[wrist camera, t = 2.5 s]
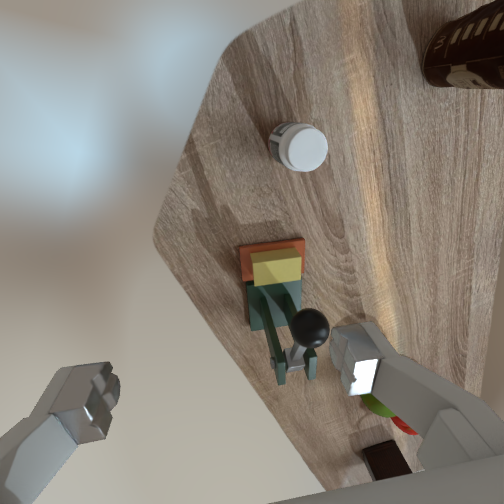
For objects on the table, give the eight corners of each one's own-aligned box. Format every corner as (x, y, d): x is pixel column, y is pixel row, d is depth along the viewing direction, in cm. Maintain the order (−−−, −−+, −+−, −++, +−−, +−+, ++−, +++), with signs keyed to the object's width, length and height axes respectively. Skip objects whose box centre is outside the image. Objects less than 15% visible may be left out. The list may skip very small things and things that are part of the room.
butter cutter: (245, 281, 41) (259, 350, 29) (299, 273, 42) (335, 337, 30) (250, 326, 46) (263, 401, 34) (298, 318, 47) (328, 389, 35)
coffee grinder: (397, 453, 81) (441, 534, 66) (363, 463, 81) (400, 546, 66) (396, 430, 73) (446, 515, 58) (360, 441, 74) (400, 530, 58)
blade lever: (288, 304, 23) (298, 344, 21) (326, 299, 23) (340, 337, 21) (276, 350, 35) (282, 378, 33) (301, 346, 36) (308, 373, 34)
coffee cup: (472, 91, 32) (615, 79, 21) (409, 107, 32) (518, 104, 21) (490, -1, 28) (682, -80, 16) (417, 17, 28) (561, -50, 16)
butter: (238, 246, 38) (241, 258, 34) (303, 237, 39) (312, 249, 35) (242, 279, 41) (245, 293, 37) (302, 270, 42) (310, 284, 38)
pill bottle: (295, 167, 33) (319, 182, 26) (262, 155, 32) (277, 168, 25) (310, 129, 31) (340, 134, 24) (276, 115, 30) (296, 116, 23)
